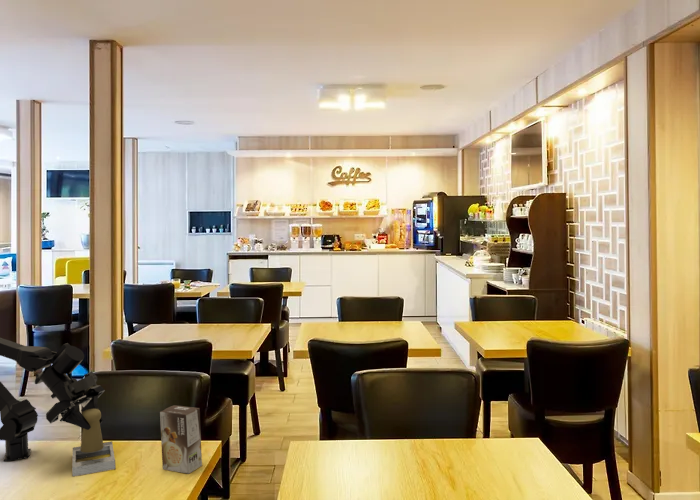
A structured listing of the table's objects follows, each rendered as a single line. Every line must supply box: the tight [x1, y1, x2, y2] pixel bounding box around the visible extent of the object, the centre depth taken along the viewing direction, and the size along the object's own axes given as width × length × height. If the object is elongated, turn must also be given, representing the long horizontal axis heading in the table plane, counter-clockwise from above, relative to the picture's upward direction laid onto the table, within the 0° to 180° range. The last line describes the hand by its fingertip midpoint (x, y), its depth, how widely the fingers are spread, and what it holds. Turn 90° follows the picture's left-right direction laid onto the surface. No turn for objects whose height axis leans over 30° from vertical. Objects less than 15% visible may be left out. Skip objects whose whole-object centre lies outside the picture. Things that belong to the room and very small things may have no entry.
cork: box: [80, 409, 104, 453], centre depth 168 cm, size 6×6×11 cm
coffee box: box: [159, 404, 203, 474], centre depth 164 cm, size 9×6×16 cm
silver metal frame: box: [71, 441, 116, 477], centre depth 169 cm, size 16×11×2 cm
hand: (95, 425), depth 168 cm, fingers closed on cork, 5 cm apart
